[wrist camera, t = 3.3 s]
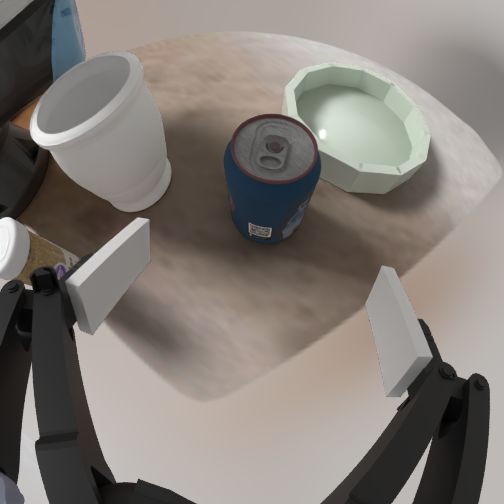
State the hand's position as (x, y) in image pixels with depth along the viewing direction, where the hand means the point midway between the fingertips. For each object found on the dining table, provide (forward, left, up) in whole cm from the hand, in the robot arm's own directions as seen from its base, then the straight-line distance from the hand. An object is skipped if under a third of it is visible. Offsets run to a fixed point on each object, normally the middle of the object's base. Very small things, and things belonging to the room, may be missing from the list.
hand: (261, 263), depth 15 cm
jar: (-18, +4, -12) cm, 22 cm away
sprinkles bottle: (-17, -9, -12) cm, 23 cm away
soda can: (-3, +7, -12) cm, 15 cm away
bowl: (+1, +23, -12) cm, 26 cm away
